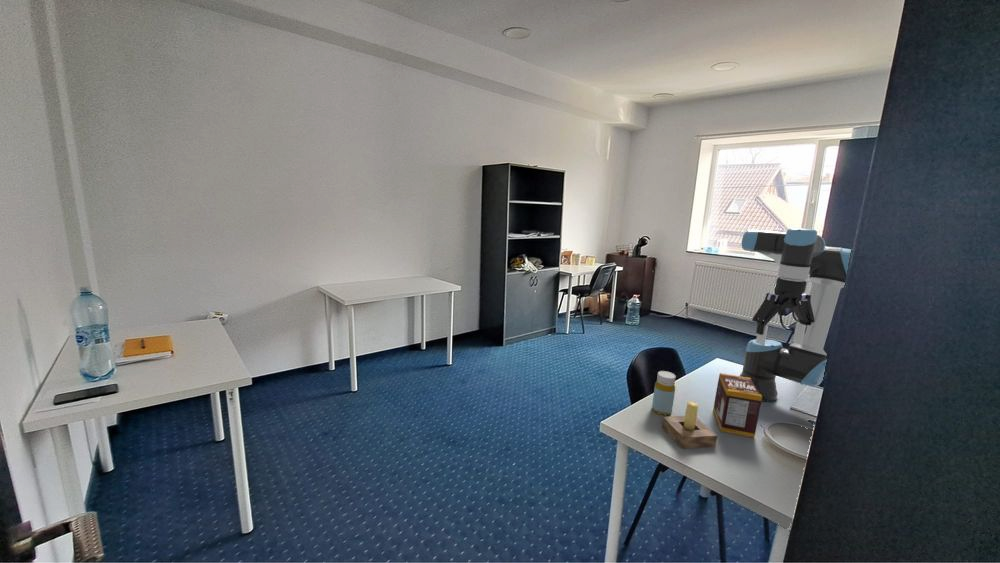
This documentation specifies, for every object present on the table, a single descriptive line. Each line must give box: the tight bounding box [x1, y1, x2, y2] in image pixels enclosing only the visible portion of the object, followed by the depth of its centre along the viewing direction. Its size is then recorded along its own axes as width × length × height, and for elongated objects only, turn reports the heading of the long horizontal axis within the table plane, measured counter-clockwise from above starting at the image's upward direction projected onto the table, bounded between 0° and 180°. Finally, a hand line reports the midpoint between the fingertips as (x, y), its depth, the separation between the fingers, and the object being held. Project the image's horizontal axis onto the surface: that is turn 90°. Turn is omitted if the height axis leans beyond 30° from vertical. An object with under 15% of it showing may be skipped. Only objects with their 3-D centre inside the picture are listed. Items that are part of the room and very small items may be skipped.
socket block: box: [661, 415, 718, 449], centre depth 131 cm, size 12×12×4 cm
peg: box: [683, 401, 699, 431], centre depth 130 cm, size 3×3×12 cm
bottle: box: [651, 370, 677, 416], centre depth 145 cm, size 7×7×15 cm
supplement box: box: [713, 372, 763, 438], centre depth 139 cm, size 10×15×16 cm
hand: (778, 343), depth 124 cm, fingers open, 13 cm apart
